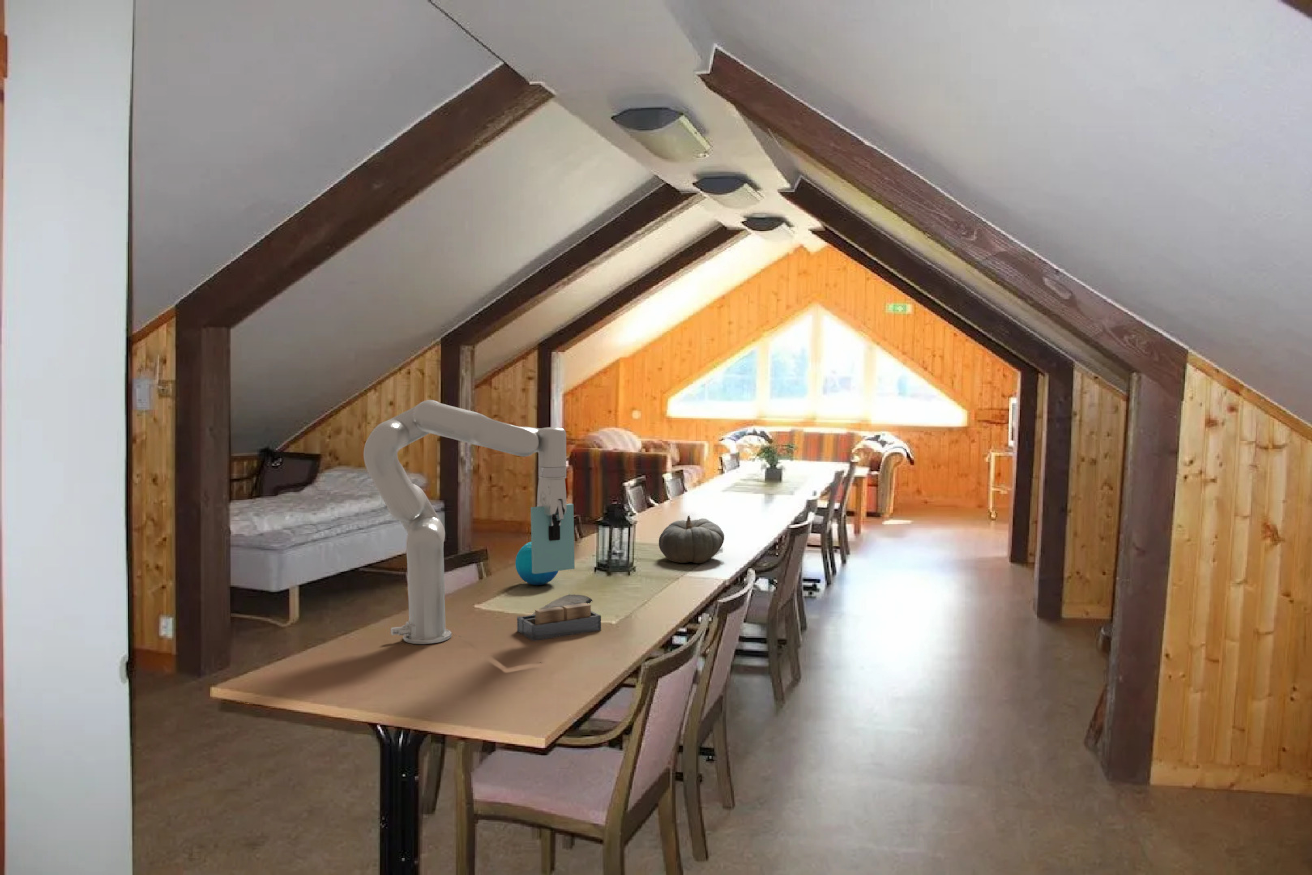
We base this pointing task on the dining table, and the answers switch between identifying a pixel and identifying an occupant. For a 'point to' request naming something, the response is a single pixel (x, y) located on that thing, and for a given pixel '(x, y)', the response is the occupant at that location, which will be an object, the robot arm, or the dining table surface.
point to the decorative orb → (530, 567)
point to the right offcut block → (577, 611)
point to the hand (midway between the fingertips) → (552, 539)
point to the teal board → (552, 542)
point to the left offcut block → (549, 615)
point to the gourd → (691, 540)
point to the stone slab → (567, 601)
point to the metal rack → (557, 627)
